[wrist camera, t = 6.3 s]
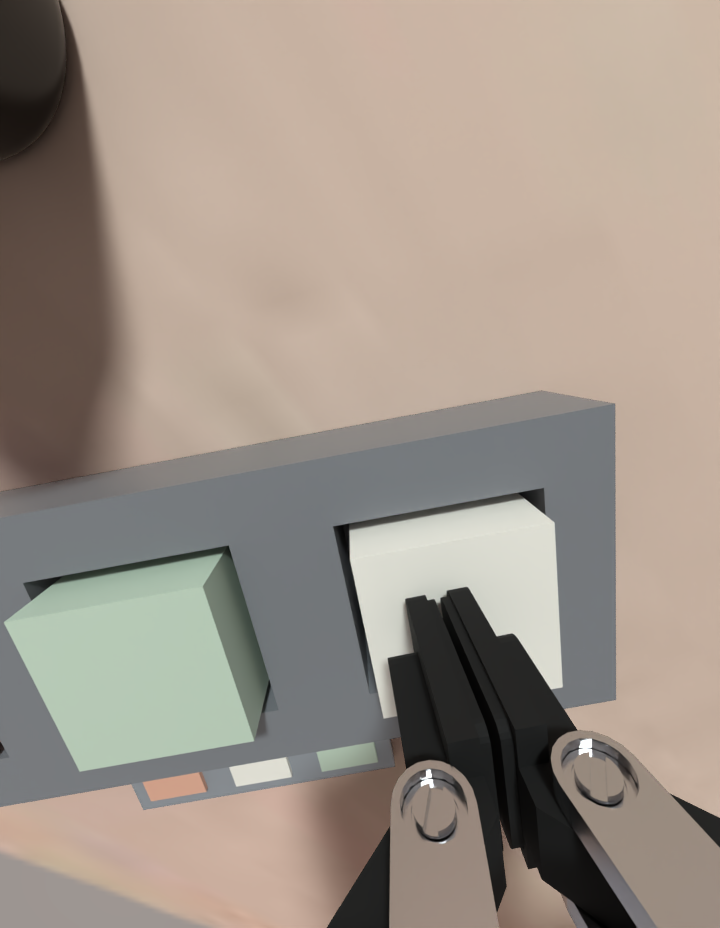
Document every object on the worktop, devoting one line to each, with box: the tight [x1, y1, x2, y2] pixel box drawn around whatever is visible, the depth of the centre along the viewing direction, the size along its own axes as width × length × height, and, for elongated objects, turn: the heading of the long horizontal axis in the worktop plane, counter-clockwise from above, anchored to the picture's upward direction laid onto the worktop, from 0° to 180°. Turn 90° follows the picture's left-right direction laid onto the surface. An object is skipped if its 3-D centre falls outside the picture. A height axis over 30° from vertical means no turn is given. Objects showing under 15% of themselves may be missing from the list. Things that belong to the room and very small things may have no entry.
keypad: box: [0, 391, 616, 807], centre depth 14 cm, size 28×10×4 cm, turn 100°
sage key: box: [4, 545, 269, 772], centre depth 12 cm, size 5×5×3 cm
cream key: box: [349, 493, 563, 718], centre depth 12 cm, size 5×5×3 cm
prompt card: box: [132, 739, 395, 810], centre depth 18 cm, size 12×4×1 cm, turn 100°
